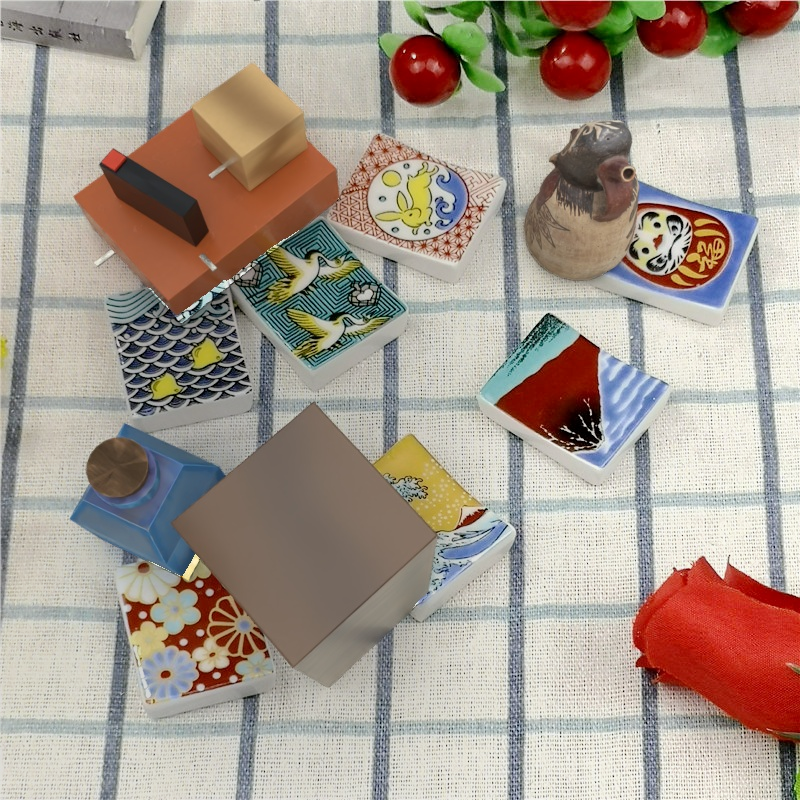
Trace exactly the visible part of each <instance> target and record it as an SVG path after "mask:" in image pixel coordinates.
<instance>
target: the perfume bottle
mask: <svg viewBox="0 0 800 800" xmlns="http://www.w3.org/2000/svg"><path fill="white" fill-rule="evenodd" d="M85 466H86V467H85V468H86V469H85V474H86V477H87V481H88V486H86V489H85V491H84V492H83V494H82V496H81V498H80V499H79V501H78V503H77V504H76V506H75V508H74V510H73V511H72V514H71V515H70V516H69V521H71V522H73V523H75V524H77V526H79V527H81V528H83V530H86V531H87V532H89V533H90V534H92V535H94V536H95V537H96V538H98V539H100V540H102V541H104V542H106V543H108V544H110V545H112V546H114V547H116V548H118V549H120V550H123V551H124V552H127V553H129V554H131V555H133V556H135V557H138V558H139V559H141V560H144V561H145V562H147V561H150V562H153V563H155V564H157V565H159V566H161V567H163V568H165V569H167V570H169V571H171V572H173V573H176V574H178V575H180V576H183V574H184V573H185V571H186V569H187V568H188V566H189V564H190V563H191V561H192V559H193V557H194V555H195V552H194V551H193V550H192V549H191V548H190V547H189V545H188V544H187V543H186V542H185V541H184V539H183V538H182V537H181V536H180V535H179V534H178V532H177V531H176V530H175V529H174V528H173V527H172V525H171V522H172V521H173V520H174V519H175V518H177V517H178V516H179V515H180V514H181V513H183V512H184V511H185V510H186V509H187V508H188V507H190V506H191V505H192V504H193V503H194V502H196V501H197V500H198V499H199V498H200V497H201V496H203V495H204V494H205V493H206V492H207V491H209V490H210V489H211V488H212V487H213V486H214V485H216V484H217V483H218V482H219V481H220V480H222V479H223V478H224V477H225V476H226V474H225V473H224V471H223V469H221V467H220V466H219V465H217V464H214V463H213V462H211V461H208V460H206V459H203V458H202V457H200V456H197V455H195V454H193V453H191V452H188V451H186V450H184V449H182V448H180V447H178V446H176V445H173V444H171V443H169V442H167V441H165V440H163V439H160V438H159V437H156V436H154V435H152V434H149V433H147V432H145V431H144V430H142V429H141V430H140V429H138V428H136V427H134V426H133V425H130V424H128V423H126V422H124V423H123V424H122V426H121V427H120V430H119V431H118V433H117V435H116V436H115V437H112V438H109V439H106V440H103V441H102V442H100V443H99V444H98V445H96V446H95V447H94V449H93V450H92V451H91V453H89V456H88V457H87V461H86V465H85ZM150 562H149V563H150Z"/></svg>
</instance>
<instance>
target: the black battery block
mask: <svg viewBox="0 0 800 800" xmlns="http://www.w3.org/2000/svg"><path fill="white" fill-rule="evenodd" d="M127 156H128V155H125V154H124V153H122V152H120V151H119V150H117V149H116V148H112V149H111V150H110V151H109V152H108V153H107V154H106V155H105V156H104V157H103V158H102V160H101V161H100V162H99V163H98V165H99V168H100V169H101V171H102V172H103V173H102V174H104V175H105V177H106V178H107V180H108V182H109V184H110V186H111V188H112V190H113V191H114V193H115V195H116V197H117V198H119V199H120V200H122V201H123V202H125V203H127V204H128V205H130V206H131V207H133V208H134V209H136V210H138V211H139V212H141V213H142V214H144V215H146V216H147V217H149V218H150V219H152V220H154V221H155V222H157V223H158V224H160V225H161V226H163V227H165V228H166V229H168V230H169V231H171V232H173V233H174V234H176V235H177V236H179V237H181V238H182V239H184V240H185V241H187V242H188V243H190V244H192V245H193V246H195V247H197V245H198V244H199V243H200V242H201V241H202V239H203V238H204V237H205V236H206V234H207V233H208V232H209V230H208V227H207V224H206V222H205V219H204V217H203V214H202V212H201V209H200V207H199V204H198V201H197V200H196V199H195V198H193V197H191V196H190V195H188V194H187V193H185V192H183V191H182V190H180V189H178V188H177V187H175V186H174V185H172V184H170V183H169V182H167V181H166V180H164V179H162V178H161V177H159V176H157V175H156V174H154V173H153V172H151V171H149V170H148V169H146V168H145V167H143V166H141V165H140V164H138V163H136V162H135V161H133V160H132V159H130V158H128V157H127Z"/></svg>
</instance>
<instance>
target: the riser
mask: <svg viewBox="0 0 800 800" xmlns="http://www.w3.org/2000/svg"><path fill="white" fill-rule="evenodd" d="M171 525H172V527H173V528H174V529H175V530H176V531H177V532H178V534H179V535H180V536H181V537H182V538H183V539H184V541H185V542H186V543H187V544H188V545H189V547H190V548H191V549H192V550H193V551H194V552H195V554H196V555H197V556H198V557H199V558H200V562H202V563H203V564H204V565H205V567H206V568H207V570H209V572H210V573H211V574H212V575H213V577H215V578H216V579H217V581H218V582H219V584H220V585H222V587H223V588H224V589H225V590H226V592H227V593H228V594H229V595H230V596H231V598H232V599H233V600H234V601H235V602H236V604H238V606H239V607H240V608H241V609H242V610H243V612H244V613H245V614H246V616H248V618H249V619H250V620H251V621H252V622H253V623H254V625H255V626H256V627H257V628H258V629H259V630H260V632H261V633H262V634H263V635H264V636H265V638H266V639H267V640H268V641H269V642H270V643H271V645H272V646H273V647H274V648H275V649H276V650H277V651H278V653H279V654H280V655H281V656H282V657H283V659H284V660H285V661H286V663H288V664H289V665H290V667H291V668H293V669H294V670H296V671H298V672H300V673H302V674H303V675H305V676H307V677H308V678H310V679H312V680H313V681H315V682H317V683H319V684H320V685H323V686H324V687H326V688H328V689H329V688H331V687H332V686H333V685H334V684H336V682H337V681H338V680H339V679H340V678H342V677H343V676H344V675H345V674H346V673H347V672H348V671H349V670H350V669H351V668H353V667H354V666H355V665H356V663H357V662H359V661H361V659H363V657H364V656H365V655H367V654H368V653H369V652H370V651H371V649H373V648H374V647H375V646H376V645H377V644H378V643H379V642H380V641H381V640H382V639H383V638H385V637H386V636H387V634H389V633H390V632H391V631H392V630H393V629H394V628H395V627H397V625H399V624H400V623H401V622H402V621H403V620H404V619H406V617H407V616H408V615H409V614H411V612H413V610H414V609H413V607H414V606H415V604H416V603H417V602H418V601H419V600H420V599H421V598H422V597H424V596H425V595H426V594H427V593H428V594H429V590H430V589H429V588H430V582H431V579H432V578H431V577H432V573H433V572H432V571H433V566H434V561H435V555H436V550H437V549H436V548H437V543H438V536H439V535H438V533H437V531H435V530H434V528H432V527H431V526H430V525H429V523H428V522H427V521H426V520H425V519H424V518H423V517H422V516H421V515H420V514H419V513H418V512H417V511H416V509H414V507H413V506H412V505H411V504H410V503H409V502H408V501H407V500H406V498H404V497H403V495H402V494H400V492H399V491H398V490H397V489H396V488H395V487H394V486H393V485H392V484H391V483H390V481H389V480H388V479H387V478H386V477H385V476H384V474H382V473H381V472H380V471H379V470H378V469H377V468H376V467H375V466H374V464H373V463H371V461H370V460H369V459H368V458H367V457H366V456H365V454H363V452H362V451H361V450H360V449H359V448H358V447H357V446H356V444H354V443H353V442H352V440H350V438H349V437H348V436H346V434H345V433H344V432H343V431H342V430H341V429H340V428H339V427H338V426H337V425H336V424H335V422H334V421H333V420H332V419H331V418H330V417H329V416H328V415H327V414H326V413H325V412H324V411H323V410H322V408H321V407H320V406H318V404H317V403H316V402H315V401H314V402H311V403H310V404H309V405H308V406H306V407H305V408H304V409H303V410H302V411H301V412H300V413H298V414H297V415H296V416H295V417H293V418H292V419H291V420H290V421H289V422H287V424H285V425H284V426H283V427H282V428H280V429H278V431H277V432H276V433H274V435H272V436H271V437H270V438H269V439H268V440H266V441H265V442H264V443H263V444H262V445H260V446H259V447H257V448H256V450H254V451H253V452H252V453H251V454H250V455H249V456H247V457H246V458H244V460H243V461H242V462H240V463H239V464H238V465H237V466H236V467H235V468H233V469H232V470H231V471H230V472H228V473H227V474H225V477H224V478H223V479H222V480H220V481H219V482H218V483H217V484H216V485H214V486H213V487H212V488H211V489H210V490H209V491H207V492H206V493H205V494H204V495H203V496H201V497H200V498H199V499H198V500H197V501H196V502H194V503H193V504H192V505H191V506H190V507H188V508H187V509H186V510H185V511H184V512H183V513H181V514H180V515H179V516H178V517H177V518H175V519H174V520H173V521H172V522H171ZM412 609H413V610H412Z"/></svg>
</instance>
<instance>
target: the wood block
mask: <svg viewBox="0 0 800 800" xmlns="http://www.w3.org/2000/svg"><path fill="white" fill-rule="evenodd" d="M190 109H192V111H193V115H194V118H195V122H196V125H197V129H198V132H199V136H200V139H201V143H202V144H203V145H204V146H205V147H206V148H207V149H208V150H209V151H210V152H211V153H212V154H213V155H214V156H215V157H216V158H217V159H218V160H219V161H220V162H221V163H222V164H223V165H224V166H225V167H226V168H227V169H228V170H229V171H230V172H231V173H232V174H233V175H234V177H235V178H236V179H237V180H238V181H239V182H240V183H241V184H242V185H243V186H244V187H245V188H246V189H247V190H248V191H251V190H252V189H254V188H255V187H256V186H258V185H259V184H260V183H262V182H263V181H264V180H266V179H267V178H268V177H270V176H271V175H272V174H274V173H275V172H276V171H278V170H279V169H280V168H282V167H283V166H284V165H286V164H287V163H288V162H290V161H291V160H292V159H294V158H295V157H296V156H298V155H299V154H300V153H302V152H303V151H304V150H306V149H307V148H308V146H307V140H308V138H307V129H306V121H305V113H304V111H303V109H301V108H300V107H299V106H298V105H297V104H296V103H295V101H293V100H292V99H291V98H290V97H289V96H288V95H287V94H286V93H285V92H284V91H283V90H282V89H281V88H280V87H279V86H278V85H277V84H276V83H275V82H274V81H272V80H271V78H270V77H269V76H267V75H266V73H264V71H263V70H261V68H260V67H258V65H256V63H254V62H251V63H249V64H247V65H246V66H245V67H244V68H242V69H241V70H240V71H238V72H236V73H235V74H234V75H232V76H231V77H230V78H228V79H227V80H225V81H224V82H222V83H221V84H219V85H218V86H216V87H215V88H214V89H212V90H211V91H210V92H208V93H207V94H206V95H204V96H203V97H201V98H200V99H199V100H197V101H195V102H194V103H193V104H192V105H191V106H190Z"/></svg>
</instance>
